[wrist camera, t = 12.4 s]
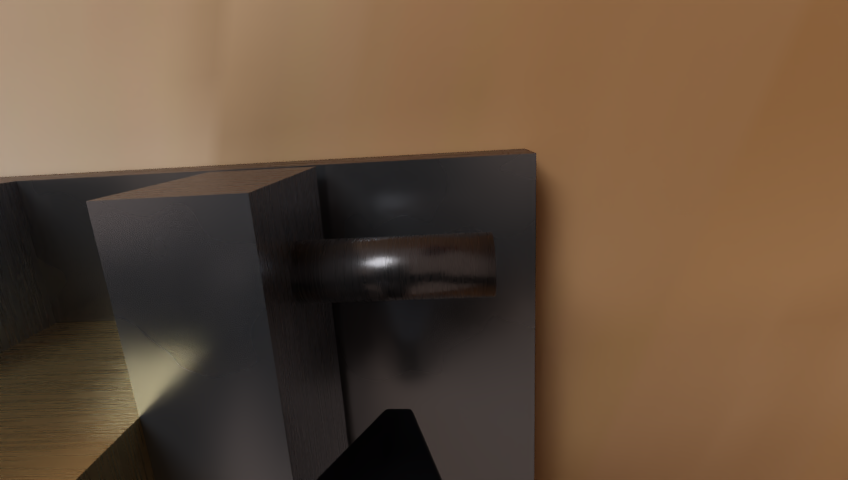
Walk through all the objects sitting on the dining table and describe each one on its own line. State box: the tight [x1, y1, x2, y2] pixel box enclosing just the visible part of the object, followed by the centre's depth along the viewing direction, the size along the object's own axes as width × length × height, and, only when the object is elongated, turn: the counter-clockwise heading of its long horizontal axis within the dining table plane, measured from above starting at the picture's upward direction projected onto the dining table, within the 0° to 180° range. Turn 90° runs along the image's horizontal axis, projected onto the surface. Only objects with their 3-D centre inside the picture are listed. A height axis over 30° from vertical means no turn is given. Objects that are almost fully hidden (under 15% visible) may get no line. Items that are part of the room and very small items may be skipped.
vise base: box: [0, 149, 536, 480], centre depth 9 cm, size 12×10×5 cm
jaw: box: [86, 167, 496, 480], centre depth 8 cm, size 5×10×3 cm, turn 3°
